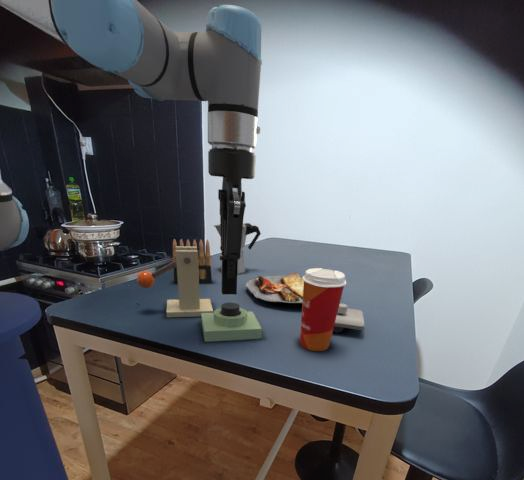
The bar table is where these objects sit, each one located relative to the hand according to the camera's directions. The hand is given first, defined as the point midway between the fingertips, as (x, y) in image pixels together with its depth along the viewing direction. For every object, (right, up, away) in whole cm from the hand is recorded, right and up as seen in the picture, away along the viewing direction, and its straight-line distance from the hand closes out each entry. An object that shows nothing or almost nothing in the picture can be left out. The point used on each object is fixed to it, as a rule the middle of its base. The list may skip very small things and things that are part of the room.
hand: (229, 292), depth 61 cm
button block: (0, -7, +4) cm, 8 cm away
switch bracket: (-10, -2, +12) cm, 16 cm away
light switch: (+23, -6, +9) cm, 26 cm away
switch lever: (-14, +5, +7) cm, 16 cm away
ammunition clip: (-14, +8, +31) cm, 35 cm away
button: (0, -4, +2) cm, 4 cm away
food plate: (+14, +4, +26) cm, 30 cm away
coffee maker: (-2, +15, +45) cm, 48 cm away
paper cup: (+17, -10, +1) cm, 19 cm away
